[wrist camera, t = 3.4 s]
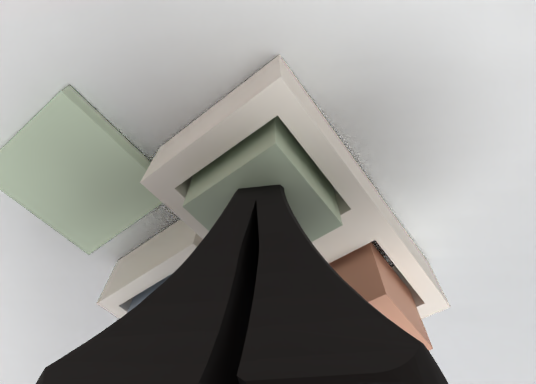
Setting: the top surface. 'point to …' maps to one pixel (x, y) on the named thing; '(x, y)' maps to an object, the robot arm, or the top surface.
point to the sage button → (266, 180)
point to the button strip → (321, 152)
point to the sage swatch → (76, 172)
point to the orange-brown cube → (382, 289)
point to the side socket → (147, 266)
